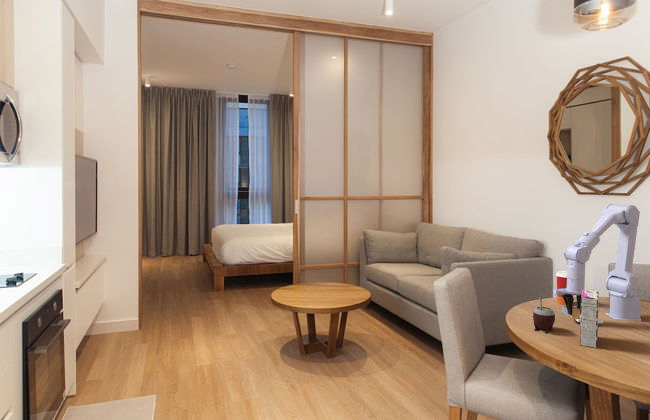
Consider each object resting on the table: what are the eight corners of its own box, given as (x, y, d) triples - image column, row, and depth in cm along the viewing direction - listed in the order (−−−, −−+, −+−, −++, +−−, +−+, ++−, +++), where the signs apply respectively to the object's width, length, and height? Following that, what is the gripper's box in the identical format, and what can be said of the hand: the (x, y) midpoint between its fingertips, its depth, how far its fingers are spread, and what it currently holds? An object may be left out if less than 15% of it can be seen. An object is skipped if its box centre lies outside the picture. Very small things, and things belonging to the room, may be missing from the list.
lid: (593, 318, 166) (594, 306, 166) (603, 324, 159) (604, 312, 159) (566, 317, 167) (566, 305, 167) (574, 323, 160) (575, 310, 160)
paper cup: (573, 303, 190) (574, 271, 189) (577, 308, 182) (578, 275, 181) (553, 301, 192) (554, 270, 191) (556, 306, 185) (557, 273, 184)
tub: (582, 313, 175) (582, 306, 175) (590, 318, 169) (590, 311, 169) (561, 312, 176) (561, 305, 176) (568, 318, 170) (568, 310, 170)
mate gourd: (549, 327, 160) (550, 287, 159) (559, 335, 152) (560, 292, 151) (528, 327, 160) (529, 286, 159) (537, 334, 152) (538, 292, 151)
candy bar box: (580, 335, 152) (582, 288, 151) (597, 337, 149) (599, 290, 148) (579, 345, 143) (580, 296, 141) (597, 348, 140) (599, 298, 139)
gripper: (591, 276, 165) (589, 311, 166) (550, 275, 167) (549, 310, 168) (600, 280, 158) (599, 317, 159) (558, 279, 160) (557, 316, 161)
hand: (574, 314), depth 163 cm, fingers closed on lid, 3 cm apart
